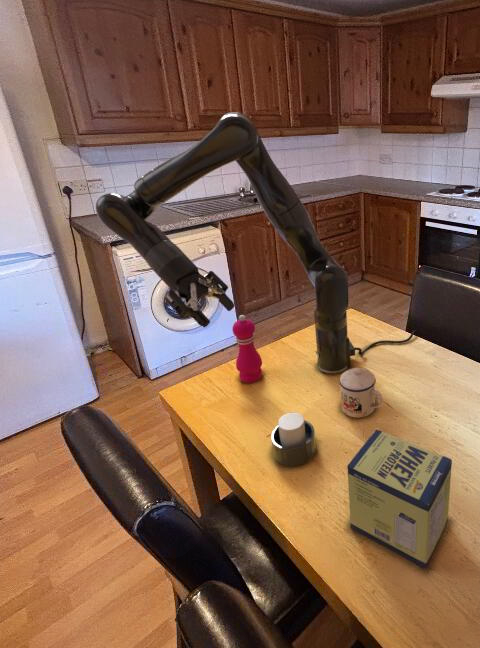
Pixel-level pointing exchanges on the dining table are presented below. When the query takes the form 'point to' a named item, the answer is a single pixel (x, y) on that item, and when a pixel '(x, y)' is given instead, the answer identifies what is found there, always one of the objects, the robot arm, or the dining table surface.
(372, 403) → the teacup with lid
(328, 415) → the dining table surface
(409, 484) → the protein box
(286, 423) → the plain white cylinder
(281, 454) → the dark round open container
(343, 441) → the dining table surface
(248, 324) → the pepper mill
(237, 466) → the dining table surface
